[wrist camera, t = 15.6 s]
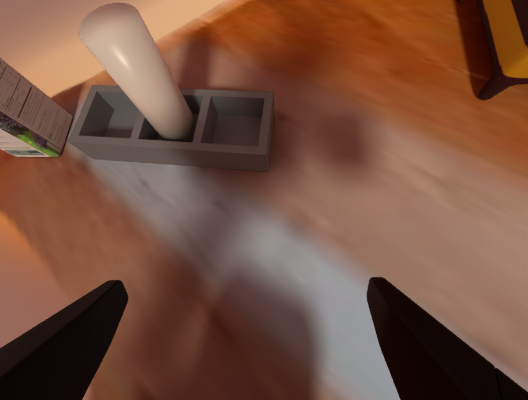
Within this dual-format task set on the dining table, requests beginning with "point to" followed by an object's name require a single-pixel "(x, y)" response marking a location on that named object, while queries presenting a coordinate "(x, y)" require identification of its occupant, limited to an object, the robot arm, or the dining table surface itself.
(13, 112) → the syrup box
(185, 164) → the caddy
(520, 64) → the decorative lantern
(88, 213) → the dining table surface
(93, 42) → the beige tapered cylinder
